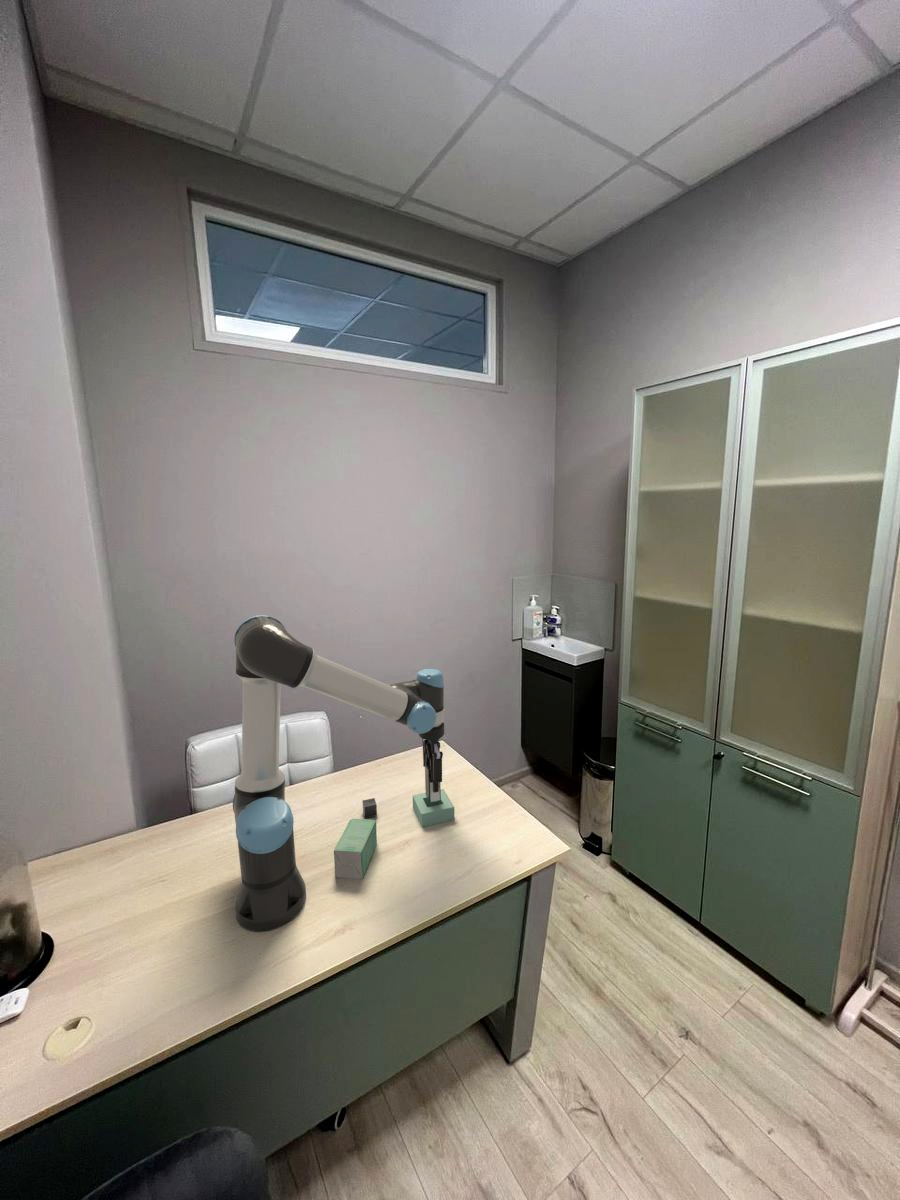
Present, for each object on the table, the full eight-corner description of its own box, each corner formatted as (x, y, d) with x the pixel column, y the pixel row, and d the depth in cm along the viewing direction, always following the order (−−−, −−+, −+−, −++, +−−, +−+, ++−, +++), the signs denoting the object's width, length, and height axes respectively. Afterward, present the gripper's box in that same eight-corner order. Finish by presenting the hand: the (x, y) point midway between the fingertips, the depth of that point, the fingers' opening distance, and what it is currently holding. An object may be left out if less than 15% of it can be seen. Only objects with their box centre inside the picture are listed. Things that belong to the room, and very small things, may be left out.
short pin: (377, 816, 141) (376, 804, 140) (364, 819, 140) (364, 807, 139) (374, 809, 144) (374, 798, 144) (363, 812, 143) (362, 800, 143)
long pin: (440, 800, 140) (440, 767, 139) (429, 802, 139) (428, 770, 138) (437, 793, 144) (436, 762, 142) (425, 796, 143) (424, 764, 141)
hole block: (454, 819, 139) (454, 806, 139) (421, 826, 136) (421, 814, 135) (443, 800, 149) (443, 788, 148) (412, 807, 145) (412, 795, 145)
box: (377, 842, 130) (376, 818, 128) (363, 879, 116) (361, 852, 115) (351, 841, 131) (350, 816, 129) (334, 877, 117) (332, 850, 116)
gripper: (453, 732, 131) (454, 809, 135) (435, 709, 146) (436, 779, 150) (426, 736, 129) (428, 815, 132) (411, 713, 144) (413, 784, 148)
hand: (432, 796), depth 141 cm, fingers closed on long pin, 4 cm apart
